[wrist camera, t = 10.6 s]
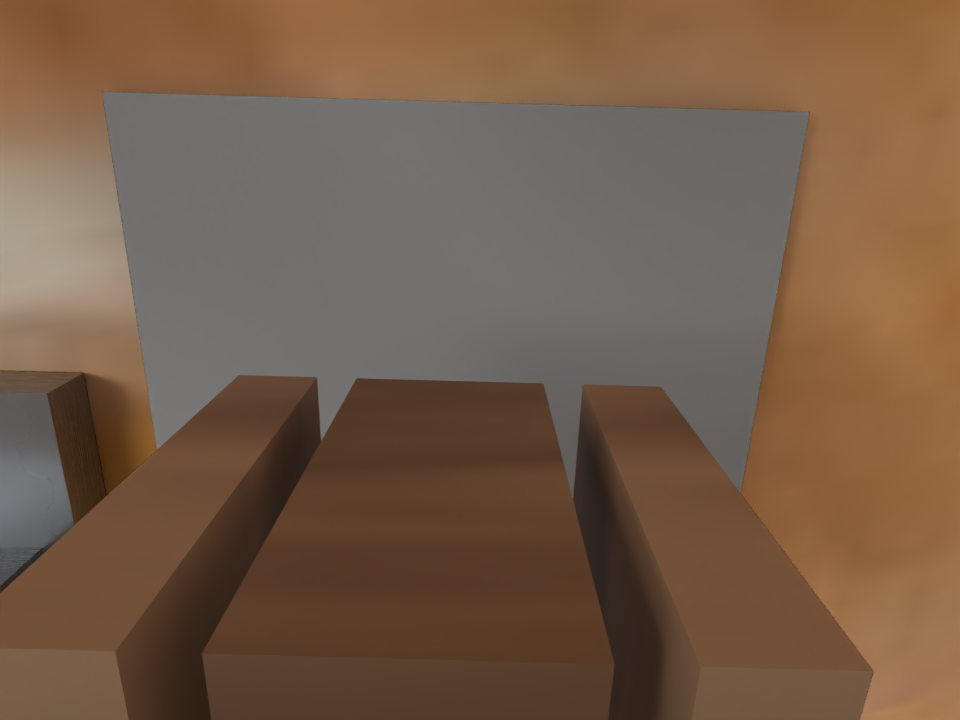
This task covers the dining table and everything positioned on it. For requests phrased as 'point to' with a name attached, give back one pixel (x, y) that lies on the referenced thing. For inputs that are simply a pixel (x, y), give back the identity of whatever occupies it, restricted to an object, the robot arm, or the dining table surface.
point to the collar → (423, 572)
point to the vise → (43, 464)
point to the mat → (456, 249)
